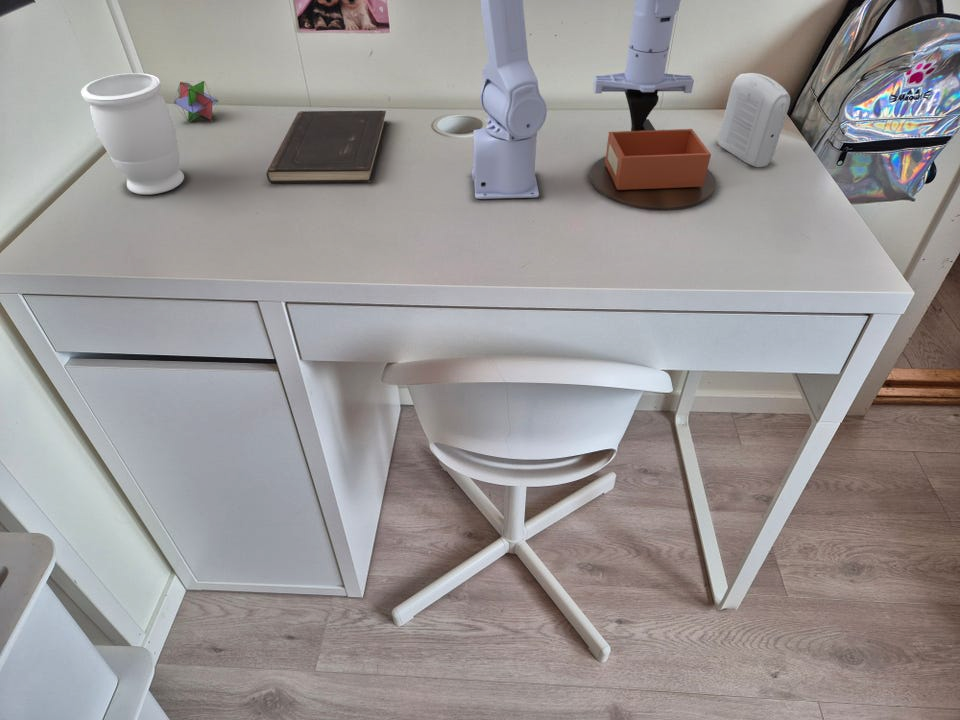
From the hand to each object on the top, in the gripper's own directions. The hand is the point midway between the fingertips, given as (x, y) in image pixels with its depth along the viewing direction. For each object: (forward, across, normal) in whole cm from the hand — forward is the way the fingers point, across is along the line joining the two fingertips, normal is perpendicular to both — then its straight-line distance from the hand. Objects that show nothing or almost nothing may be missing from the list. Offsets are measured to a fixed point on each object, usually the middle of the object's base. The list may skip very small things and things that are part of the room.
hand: (634, 137), depth 104 cm
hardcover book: (+4, -49, +4) cm, 50 cm away
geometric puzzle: (+4, -76, +18) cm, 78 cm away
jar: (+4, -75, -7) cm, 75 cm away
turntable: (+4, +2, -7) cm, 8 cm away
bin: (+3, +2, -5) cm, 6 cm away
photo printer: (+4, +19, +2) cm, 19 cm away
